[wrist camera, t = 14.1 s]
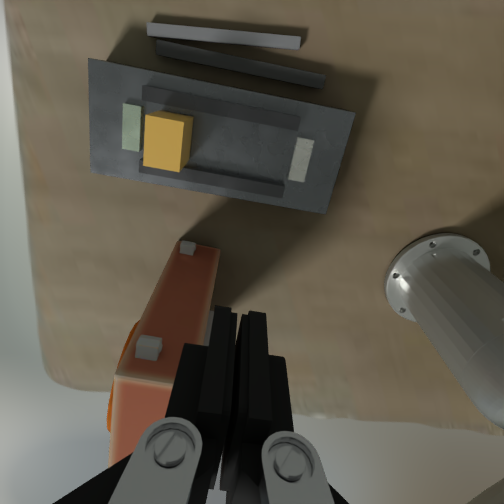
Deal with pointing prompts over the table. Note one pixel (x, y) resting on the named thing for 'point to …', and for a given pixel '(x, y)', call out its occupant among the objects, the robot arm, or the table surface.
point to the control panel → (161, 344)
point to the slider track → (218, 137)
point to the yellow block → (167, 140)
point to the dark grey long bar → (239, 64)
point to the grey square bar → (223, 36)
